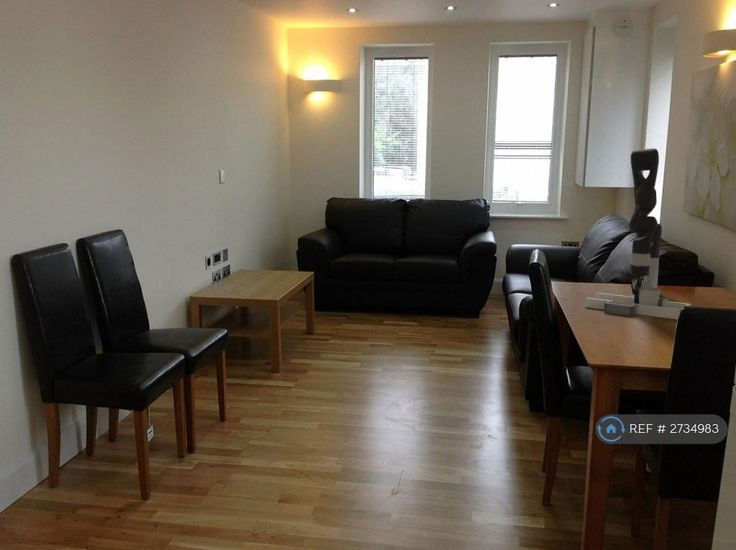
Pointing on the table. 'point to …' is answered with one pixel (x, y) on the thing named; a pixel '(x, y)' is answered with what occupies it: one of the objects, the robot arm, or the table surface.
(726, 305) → the table surface
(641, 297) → the cup
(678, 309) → the box
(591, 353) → the table surface
